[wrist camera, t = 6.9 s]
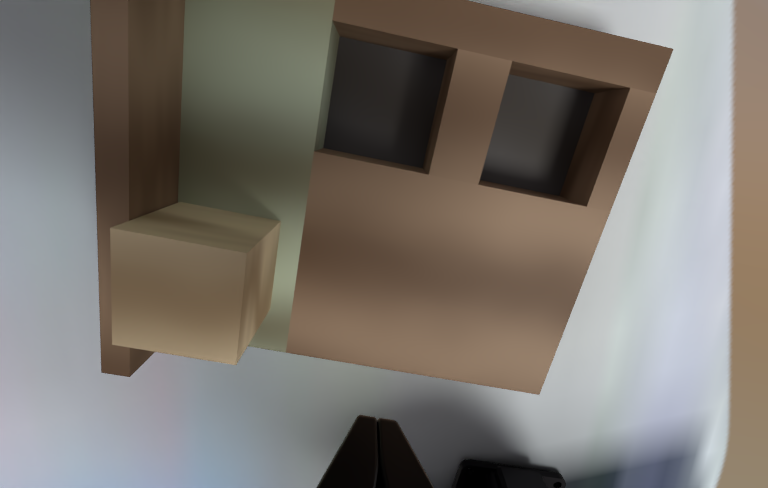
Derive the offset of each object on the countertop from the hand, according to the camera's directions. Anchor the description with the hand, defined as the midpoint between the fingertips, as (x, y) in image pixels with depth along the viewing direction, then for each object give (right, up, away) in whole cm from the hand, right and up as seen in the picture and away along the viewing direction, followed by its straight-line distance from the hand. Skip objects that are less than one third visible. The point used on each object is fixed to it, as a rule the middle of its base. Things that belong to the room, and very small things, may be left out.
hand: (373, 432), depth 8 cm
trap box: (0, +7, +10) cm, 12 cm away
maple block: (-6, +3, +7) cm, 10 cm away
